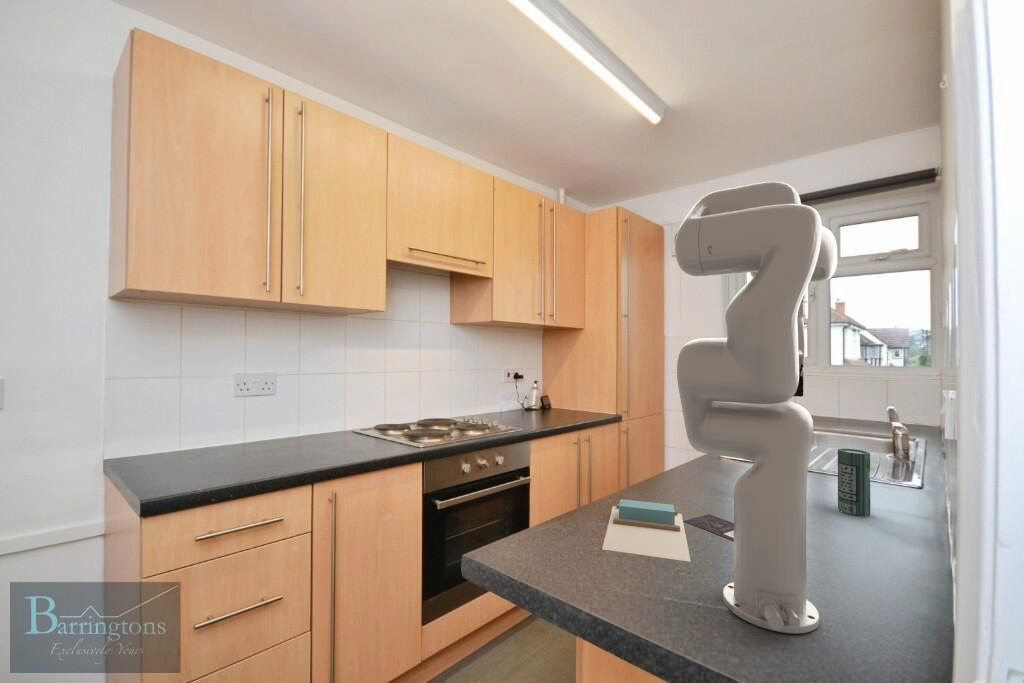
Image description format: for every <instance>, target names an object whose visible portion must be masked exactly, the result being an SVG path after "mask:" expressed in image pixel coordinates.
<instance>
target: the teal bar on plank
mask: <svg viewBox="0 0 1024 683" xmlns="http://www.w3.org/2000/svg"><path fill="white" fill-rule="evenodd" d="M618 504H619V519H627V520H635V521H643V522H652V523H660V524H668V525H675V511H674V510H675V505H674V504H668V503H660V502H650V501H641V500H633V499H632V500H631V499H620V500H619V503H618Z"/></svg>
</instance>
